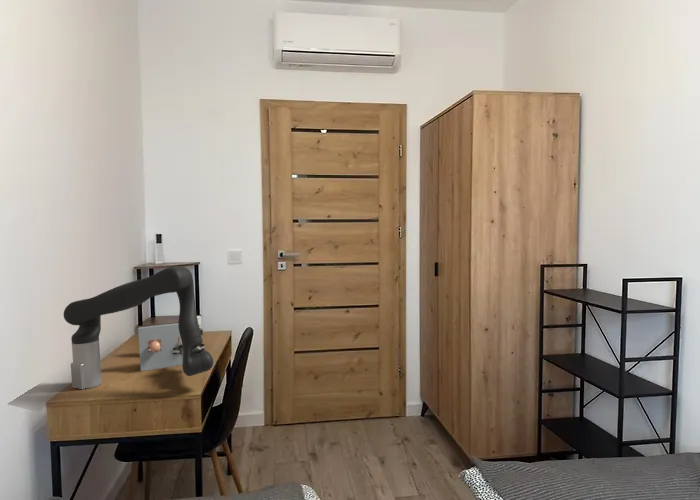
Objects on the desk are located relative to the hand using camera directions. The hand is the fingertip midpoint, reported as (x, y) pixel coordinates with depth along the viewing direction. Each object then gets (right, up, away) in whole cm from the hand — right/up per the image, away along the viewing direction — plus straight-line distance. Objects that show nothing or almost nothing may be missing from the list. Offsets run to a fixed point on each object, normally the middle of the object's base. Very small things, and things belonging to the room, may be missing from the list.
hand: (186, 344), depth 201 cm
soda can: (-25, -10, +24) cm, 36 cm away
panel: (-10, -10, +8) cm, 16 cm away
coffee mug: (-6, -9, +33) cm, 35 cm away
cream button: (-3, -2, +6) cm, 7 cm away
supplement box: (-14, -8, +52) cm, 54 cm away
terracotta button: (-13, -3, -1) cm, 13 cm away
